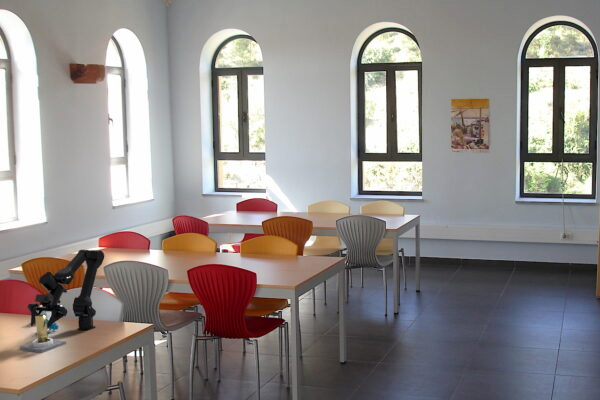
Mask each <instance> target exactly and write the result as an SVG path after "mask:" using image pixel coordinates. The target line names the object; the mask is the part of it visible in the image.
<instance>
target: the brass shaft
mask: <svg viewBox="0 0 600 400" xmlns="http://www.w3.org/2000/svg"><path fill="white" fill-rule="evenodd" d="M35 319H36V322H35V327H36V337H37V339H36V340H38V343H44V342H48V338H49V337H48V336H49V335H48V329H47V324H46V315H45V314H41V315H36V316H35Z"/></svg>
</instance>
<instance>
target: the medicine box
mask: <svg viewBox="0 0 600 400" xmlns="http://www.w3.org/2000/svg"><path fill="white" fill-rule="evenodd" d="M39 306H40V307H42V305H40V304H39ZM41 314H45V315H46V319H48V321H49V319H50V317H51V312H49V311H42V313H41ZM41 314H40V315H41Z"/></svg>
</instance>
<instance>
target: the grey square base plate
mask: <svg viewBox="0 0 600 400" xmlns="http://www.w3.org/2000/svg"><path fill="white" fill-rule="evenodd" d="M66 344H67V341H66V340H60V339H59V340H58V339H53V338H52V337H51V338H50V337H48V342H44V343H38V340H37V339H34V340H33V341H32V342H30V343H26V344H25V345H21V346H19V350H20V351H21V350H22V351H28V352H36V353H45V352H49V351H51V350H53V349H57V348H58V347H61V346H64V345H66Z"/></svg>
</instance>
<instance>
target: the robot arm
mask: <svg viewBox="0 0 600 400" xmlns="http://www.w3.org/2000/svg"><path fill="white" fill-rule="evenodd" d="M104 260H105V254H104V252H103V250H97V249H94V250H93V249H91V250H89V249H79V250H78V252H77V254H76V255H75V256H74V257H73V258H72V259H71V260H70V261H69V263H67V265H66V266H65V267H63V268H61V269H59V270H57V272H55V273H54V275H53V273H52V272H51V271H46V272H45V273H43V275H41V276H40V277H39V279H38V284H40V285H41V286H42V287H43V288H45V290H46V291H48V293H46V294H35V299H34V302H30V303H28V305H27V306H26V307H27V309H28V311H30V314H31V315H30V326H31V327H33V326H34V325H36V319H35V316H36V315H40V314H41V313H42V311H49V312H51V317H50V319H49V321H48V324H47V327H50V326H51V325H52V324H54V323H57V321H59V320H60V319H62V318H64V317H66V316H67V315H68V310H67V309H66V307H65V306H64V305H63V304H61V302H62V301H61V300H60V299H61V297H62V295H63V294H64V293H65V294H66V293H68V290H67V287H66V286H63V285H70V284H71V283H72V281H73V280H74V278H75V273H76V272H77V271H78V270H79V268H81V267H82V265H83V263H85V264H86V270H85V274H84V278H83V283H82V286H81V289H80V293H79V295H78V296H75V297H74V298H73V303H72V311H73V314H74V316H75V317H76V318H77V317H78V320H77V321H78V322H77V323H78V327H77V328H76V330H80V331H90V330H92V329H95V328H96V327H97V326H96V325H94V317H95V316H96V313H97V311H96V309H95V308H94V307H93V302H92V299H91V296H92V291H93V287H94V284H95V279H96V275H97V272H98V269H99V267H101V266H102V264H103V263H104ZM38 303H39V304H38ZM40 305H42V307H40Z"/></svg>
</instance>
